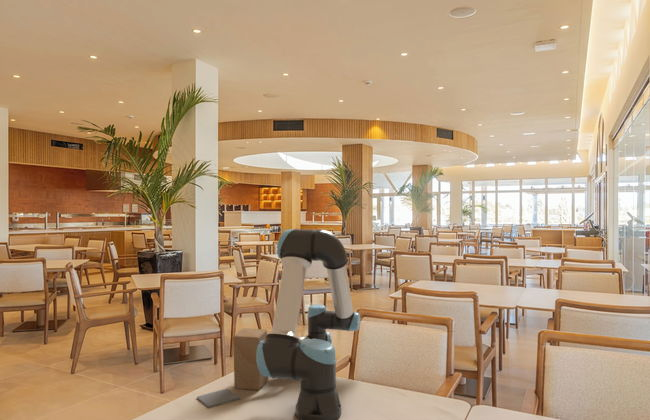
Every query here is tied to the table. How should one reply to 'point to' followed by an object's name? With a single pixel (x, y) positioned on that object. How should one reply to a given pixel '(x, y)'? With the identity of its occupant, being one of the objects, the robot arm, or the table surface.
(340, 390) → the table surface
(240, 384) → the wooden block
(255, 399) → the table surface
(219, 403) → the mat
